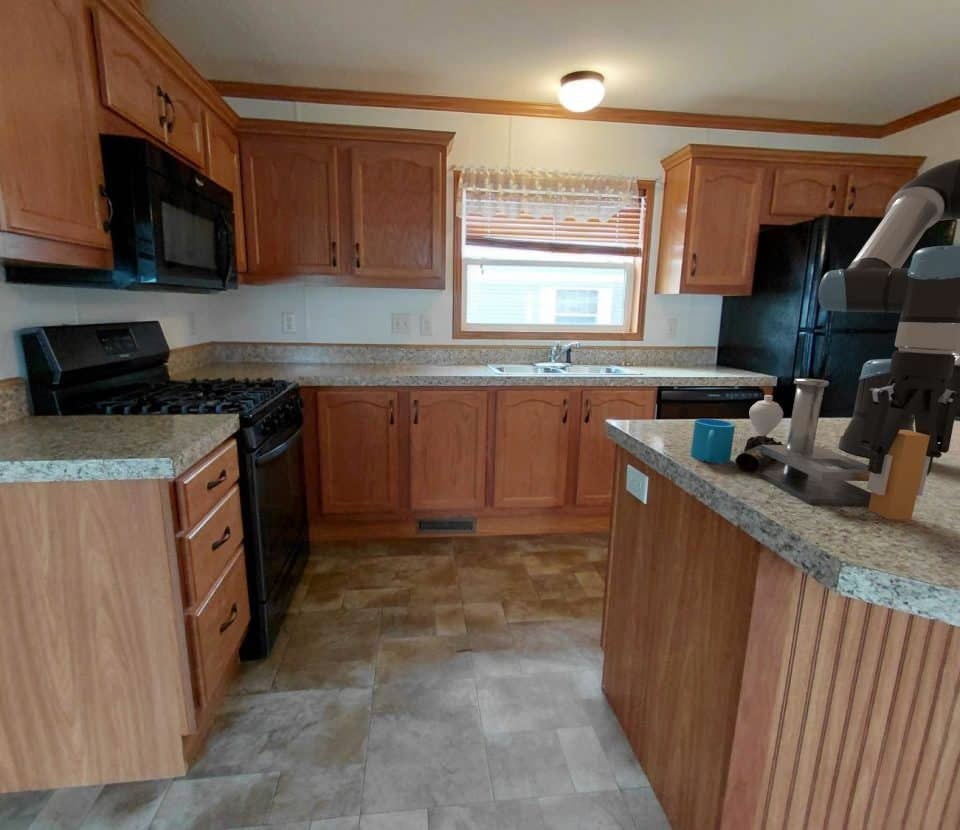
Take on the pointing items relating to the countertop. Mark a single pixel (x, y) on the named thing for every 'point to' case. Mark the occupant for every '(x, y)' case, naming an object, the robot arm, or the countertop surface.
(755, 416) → the spinning top
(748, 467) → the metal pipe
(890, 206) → the robot arm
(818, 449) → the two-tier gray stand
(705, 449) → the mug
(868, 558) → the countertop surface
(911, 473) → the orange upright block
